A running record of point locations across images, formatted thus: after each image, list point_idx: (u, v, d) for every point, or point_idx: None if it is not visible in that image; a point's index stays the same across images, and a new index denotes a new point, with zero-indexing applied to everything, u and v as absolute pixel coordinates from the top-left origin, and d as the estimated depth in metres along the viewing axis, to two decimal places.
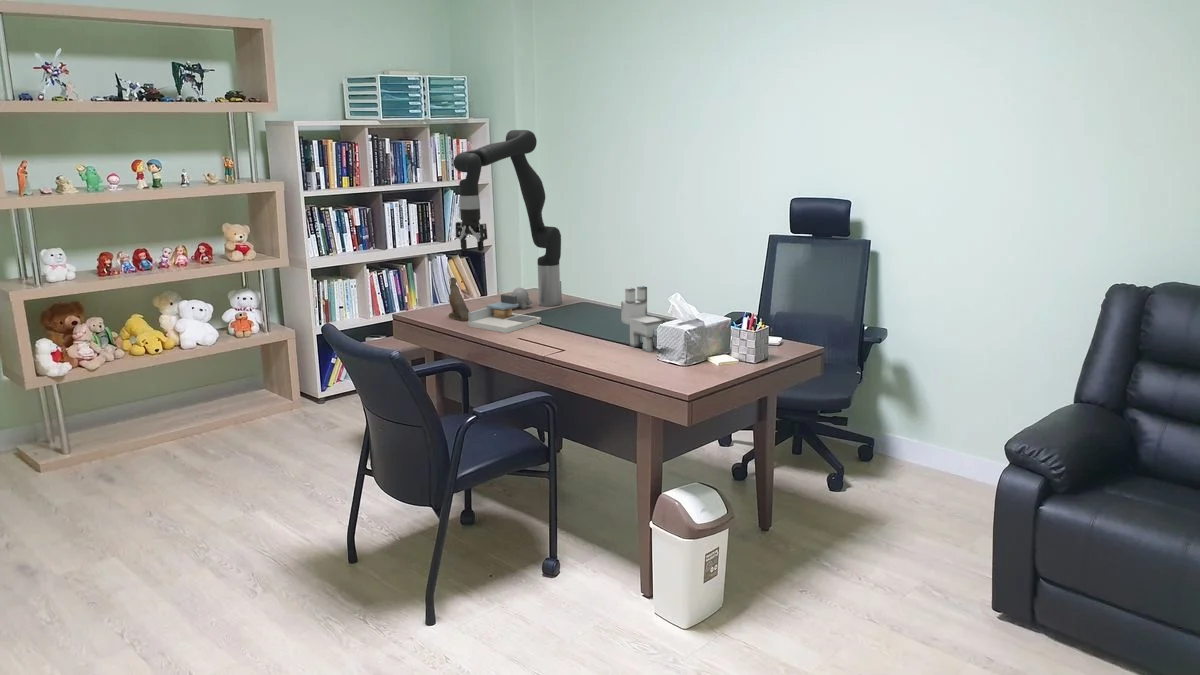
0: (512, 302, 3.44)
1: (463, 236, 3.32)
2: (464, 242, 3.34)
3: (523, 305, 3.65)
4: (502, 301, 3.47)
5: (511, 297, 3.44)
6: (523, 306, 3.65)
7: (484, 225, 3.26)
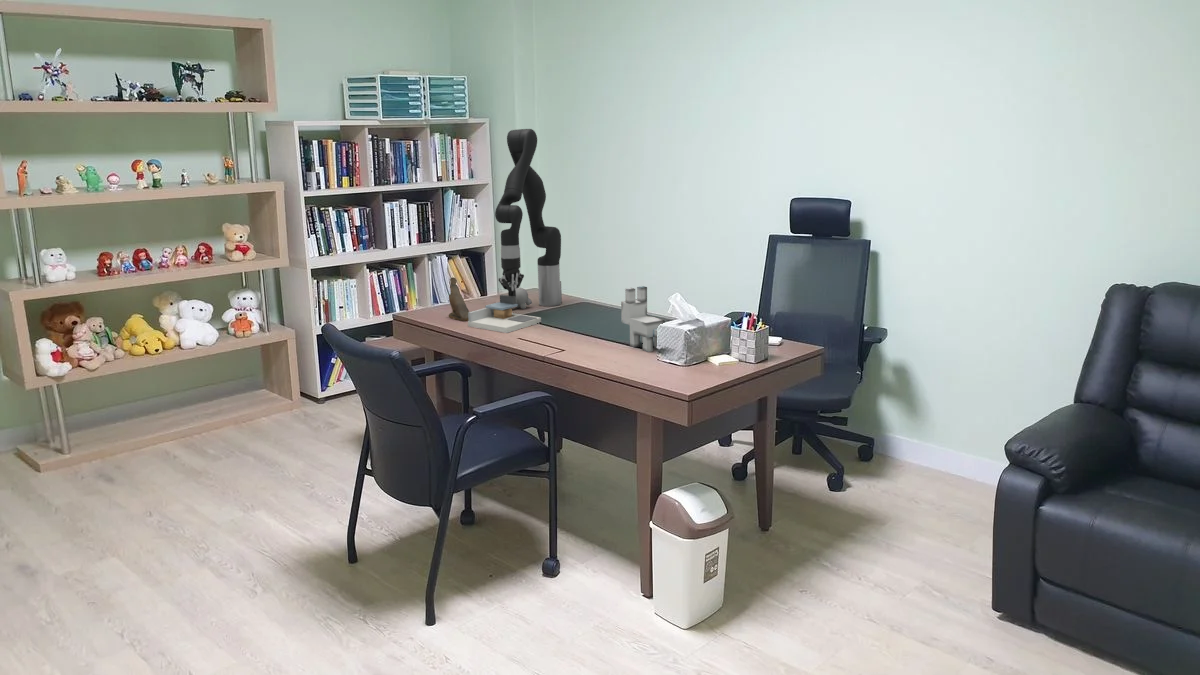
0: (511, 302, 3.44)
1: (512, 285, 3.46)
2: None
3: (523, 305, 3.65)
4: (501, 301, 3.47)
5: (510, 297, 3.44)
6: (523, 306, 3.65)
7: None
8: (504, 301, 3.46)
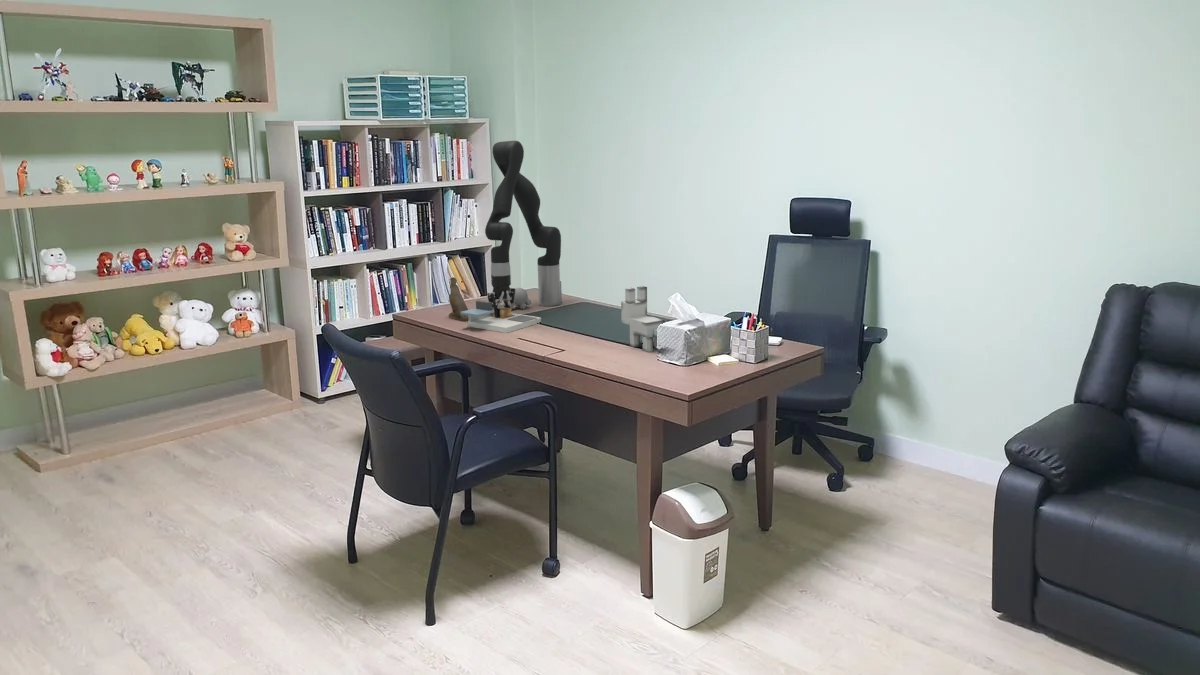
0: (487, 309, 3.33)
1: (499, 303, 3.41)
2: None
3: (522, 305, 3.65)
4: (477, 307, 3.37)
5: (486, 303, 3.33)
6: (522, 306, 3.65)
7: None
8: (480, 307, 3.36)
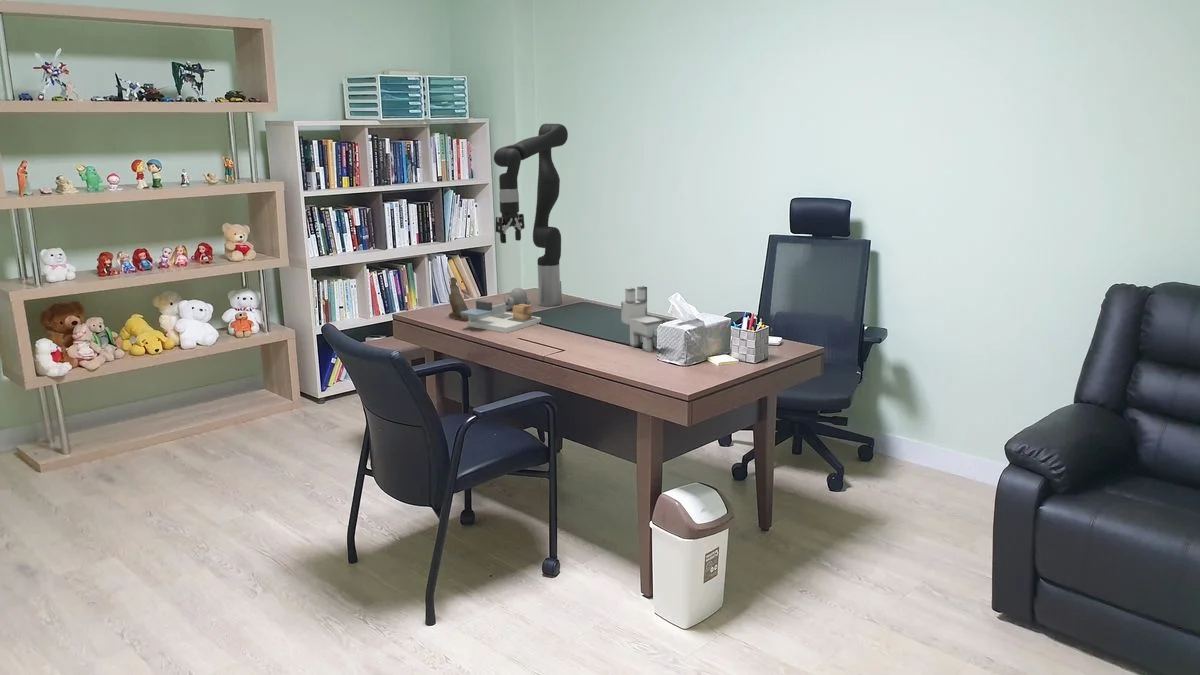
0: (487, 309, 3.33)
1: (505, 229, 3.42)
2: None
3: None
4: (477, 307, 3.37)
5: (486, 303, 3.33)
6: None
7: None
8: (480, 307, 3.36)
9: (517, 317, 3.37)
